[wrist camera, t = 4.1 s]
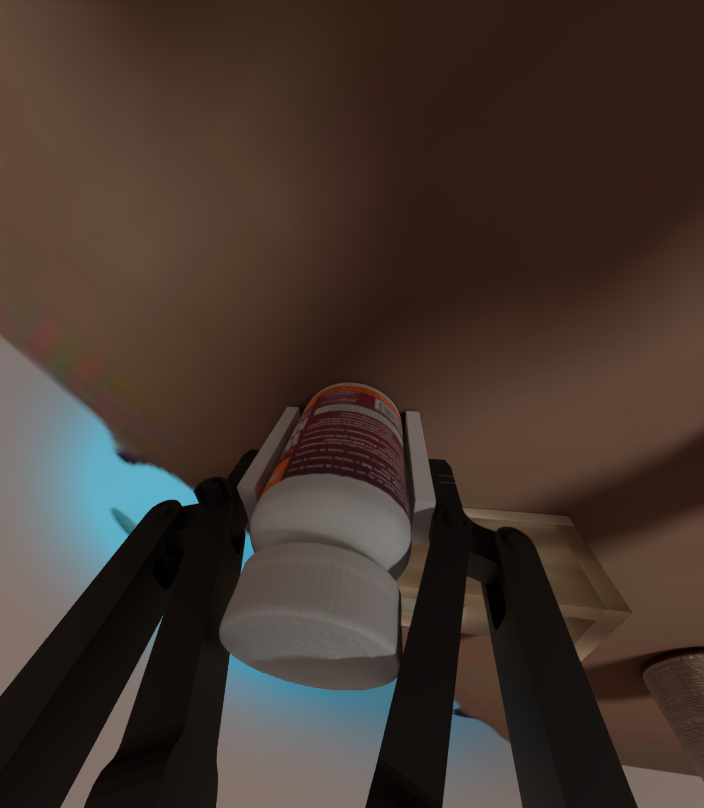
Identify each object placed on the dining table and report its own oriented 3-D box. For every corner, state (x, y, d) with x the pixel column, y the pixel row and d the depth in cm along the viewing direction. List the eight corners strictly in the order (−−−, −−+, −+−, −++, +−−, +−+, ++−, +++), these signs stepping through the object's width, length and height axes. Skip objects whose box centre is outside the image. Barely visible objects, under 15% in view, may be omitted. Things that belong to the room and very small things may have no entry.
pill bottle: (300, 377, 16) (159, 586, 6) (406, 380, 15) (439, 622, 5) (310, 457, 19) (227, 679, 9) (398, 463, 18) (410, 709, 9)
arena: (342, 498, 21) (327, 578, 16) (568, 515, 19) (632, 612, 14) (349, 609, 30) (341, 682, 25) (502, 628, 28) (526, 712, 23)
